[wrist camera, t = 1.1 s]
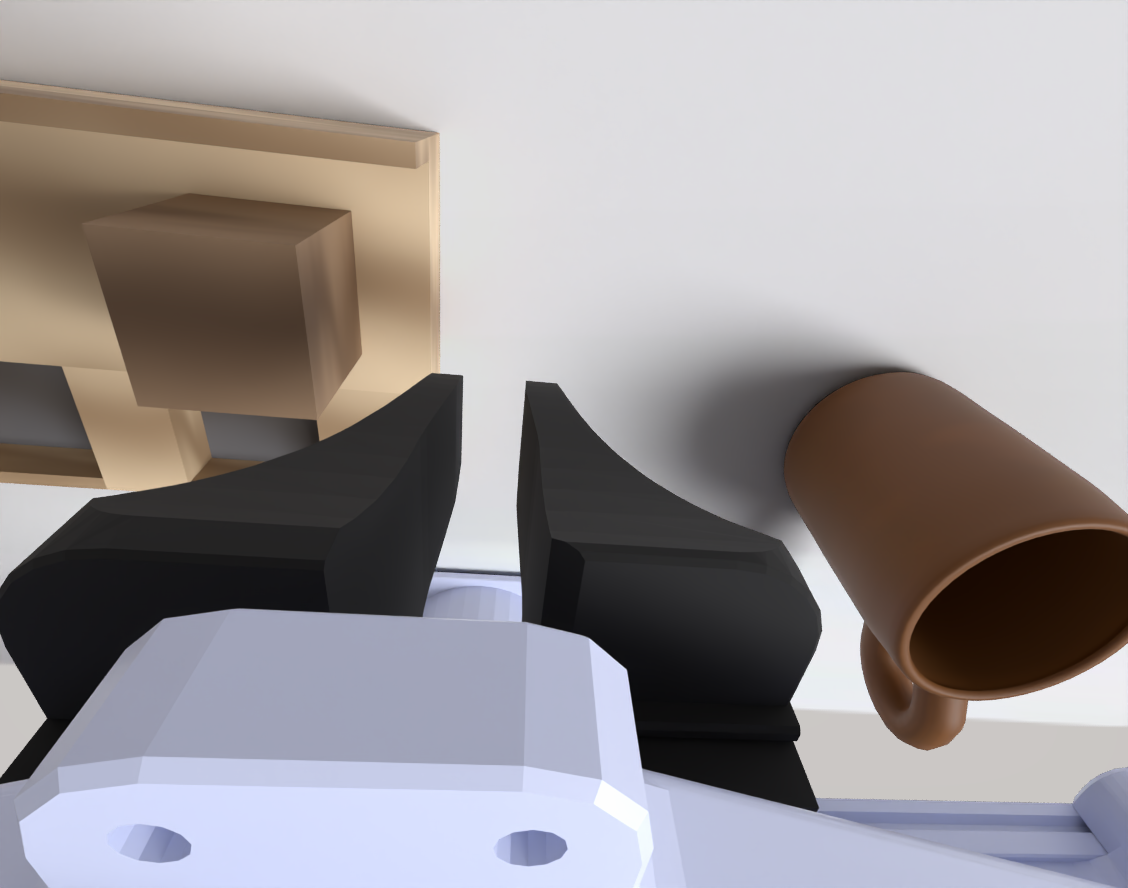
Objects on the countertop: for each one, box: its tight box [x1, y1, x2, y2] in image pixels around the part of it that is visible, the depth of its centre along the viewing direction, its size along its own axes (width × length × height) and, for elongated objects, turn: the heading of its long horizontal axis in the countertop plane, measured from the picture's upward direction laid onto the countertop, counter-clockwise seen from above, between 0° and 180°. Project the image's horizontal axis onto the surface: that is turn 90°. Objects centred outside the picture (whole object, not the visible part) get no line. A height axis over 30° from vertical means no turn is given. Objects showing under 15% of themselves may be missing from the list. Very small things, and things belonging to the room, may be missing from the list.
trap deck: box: [0, 80, 440, 491], centre depth 18 cm, size 13×20×4 cm, turn 84°
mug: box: [784, 372, 1128, 750], centre depth 21 cm, size 12×8×9 cm, turn 179°
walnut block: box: [82, 193, 362, 420], centre depth 16 cm, size 4×4×4 cm
